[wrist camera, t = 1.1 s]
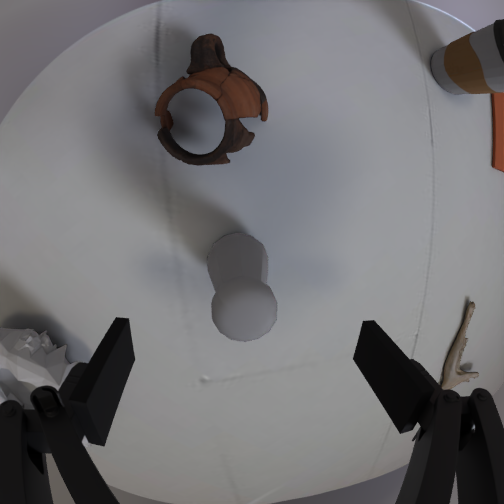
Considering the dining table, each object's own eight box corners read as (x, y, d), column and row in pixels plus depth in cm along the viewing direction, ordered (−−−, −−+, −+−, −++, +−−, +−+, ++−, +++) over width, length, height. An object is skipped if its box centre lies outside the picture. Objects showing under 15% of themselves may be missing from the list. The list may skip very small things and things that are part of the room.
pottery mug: (282, 143, 28) (257, 170, 21) (199, 152, 31) (157, 180, 25) (261, 29, 21) (226, 16, 15) (176, 52, 25) (124, 55, 18)
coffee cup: (474, 98, 27) (556, 91, 13) (439, 107, 27) (532, 96, 13) (451, 43, 24) (528, 19, 10) (413, 46, 25) (497, 11, 10)
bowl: (-8, 283, 28) (-51, 314, 18) (113, 335, 31) (85, 389, 22) (8, 385, 33) (-17, 420, 23) (108, 431, 37) (94, 477, 27)
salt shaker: (259, 222, 29) (285, 265, 17) (270, 274, 31) (299, 344, 19) (201, 235, 29) (186, 287, 17) (215, 287, 31) (213, 363, 18)
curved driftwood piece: (439, 396, 43) (444, 403, 41) (427, 327, 37) (433, 335, 35) (475, 371, 41) (480, 377, 39) (470, 296, 36) (477, 302, 34)
